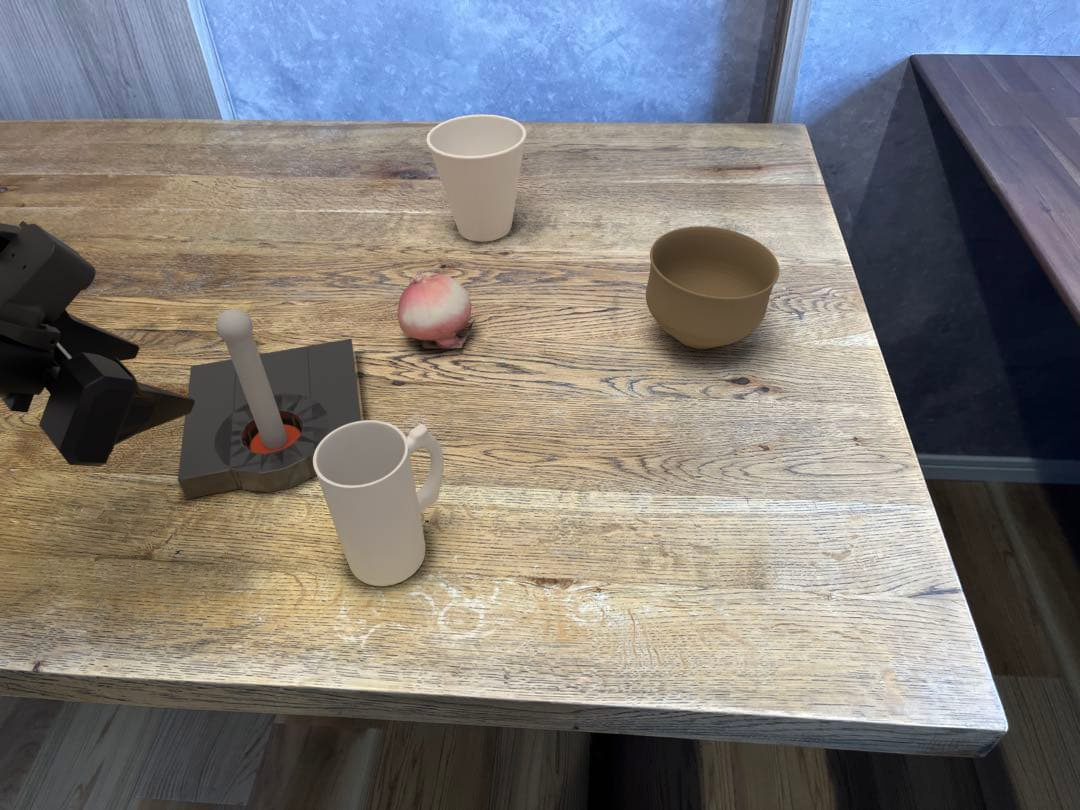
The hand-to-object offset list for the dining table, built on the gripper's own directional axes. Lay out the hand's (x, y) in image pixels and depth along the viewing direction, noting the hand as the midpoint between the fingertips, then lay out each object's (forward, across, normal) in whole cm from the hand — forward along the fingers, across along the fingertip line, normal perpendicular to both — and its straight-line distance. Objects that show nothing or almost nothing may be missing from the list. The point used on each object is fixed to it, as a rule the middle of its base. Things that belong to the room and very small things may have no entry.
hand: (163, 377), depth 62 cm
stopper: (+15, +2, +6) cm, 16 cm away
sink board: (+16, +5, +5) cm, 18 cm away
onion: (+31, +4, -8) cm, 32 cm away
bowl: (+45, -17, -20) cm, 52 cm away
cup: (+45, +18, -20) cm, 52 cm away
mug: (+16, -15, +5) cm, 23 cm away
